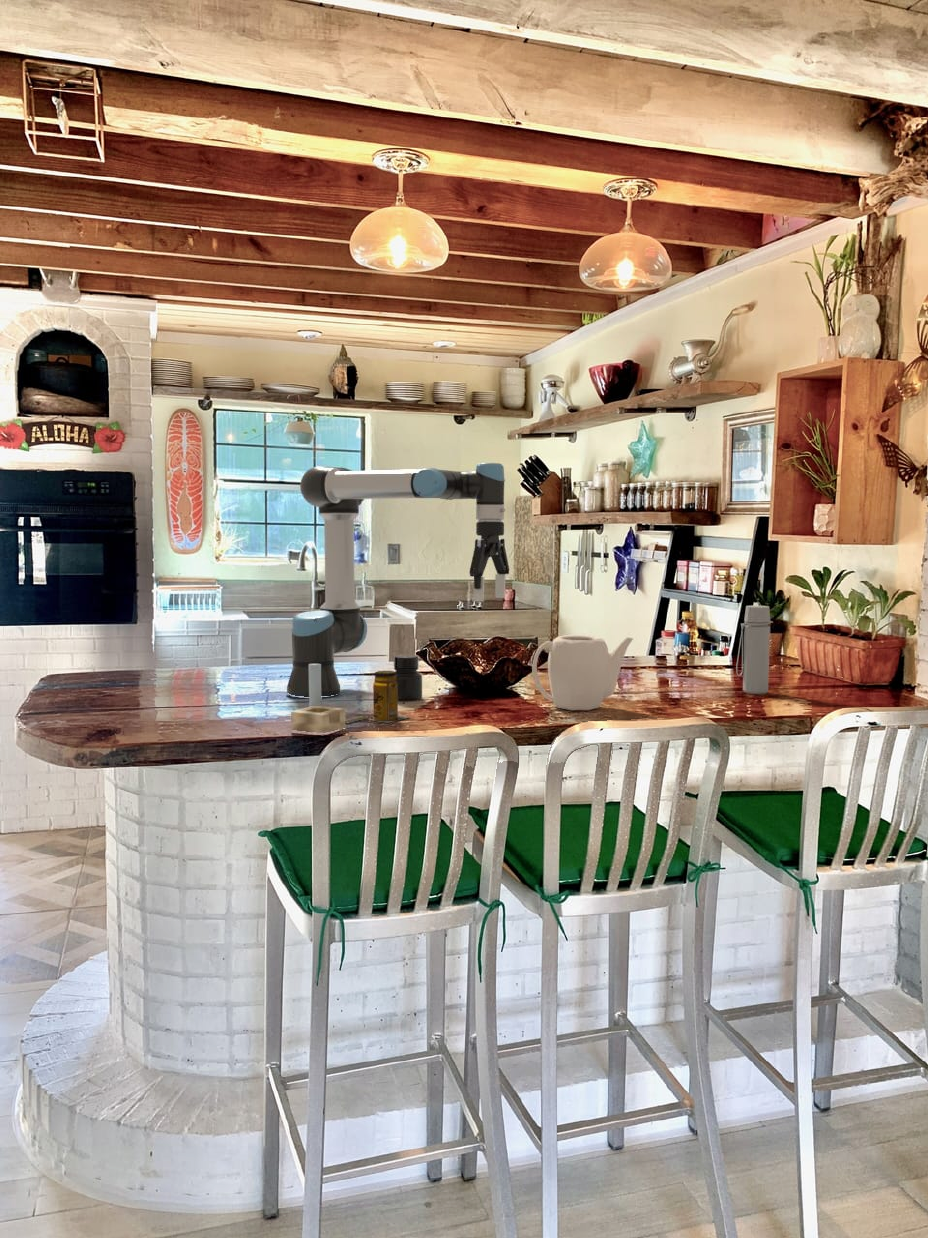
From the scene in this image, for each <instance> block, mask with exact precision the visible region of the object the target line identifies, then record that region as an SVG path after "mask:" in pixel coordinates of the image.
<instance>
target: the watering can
mask: <svg viewBox="0 0 928 1238" xmlns="http://www.w3.org/2000/svg"><path fill="white" fill-rule="evenodd" d="M633 640H634V638H632V637H629V636H627V637H626V638H624V640H623V641H621V642H620V644H619V645H618V646H617V647H616V648H615V649H614V650H613V651H612V652H611V653H609V648H608V646H607V643H606V641H605V639H604V638H601V637H599V636H594V635H586V634H585V635H583V634H582V635H579V634H572V635H570V634H568V635H560V636H559V635H558V636H557V637H555V638H554V639H553V641H551V640H547V641H546V642H543V643H542V644H541V645H540V646H538V647H537V650H536V652H535V654H534V656H533V661H532V666H531V670H532V673H531V675H532V678H533V682H534V684H535V687H536V689H537V690H538V691H539V692H540V693H541V694H542V696H543V697H544V698H545V699H546V700H549V701H550V702H552V703H553V704H554V706H555V707H556V708H557V709H560V708H561V709H562V710H567V711H591V710H594V709H595V710H596V709H599V708H600V707H601V704H602V702H603V700H604V699H606V698H609V697H611V696H612V695H613V694H614V693H615V690H616V687H617V683H618V678H619V676H620V671H621V667H622V664H623V660H624V657H625V655H626V652H627V650H628V647H629V646H630V644H631V643H632V641H633ZM544 649H547V650H549V652H548V653H549V654H548V658H547V674H548V680H549V688H550V693H551V694H550V693H548V692H547V691H546V690H545V688H544V687H543V685H542V684H541V681H540V677H539V674H538V665H537V664H538V660H539V656H540V655H541V652H542V651H543V650H544Z"/></svg>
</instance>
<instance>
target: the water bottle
mask: <svg viewBox="0 0 928 1238" xmlns="http://www.w3.org/2000/svg"><path fill="white" fill-rule="evenodd" d="M770 611H771V610H770V606H767V605H746V606H745V613H744V620H743V621H744V622H743V623H740V626H741V627H740V628H741V632H740V633H741V634H740V638H739V646H738V652H737V653H738V654H737V660H736V668H735V669H736V675H737V676H738V677H739V676H740V677H741V676H742V691H743V692H744V693H745V694H748V695H765V694H767V693H768V692H769V675H770V641H771V640H770V639H771V626H770V624H771V622H772V621H771V613H770ZM740 649H741V650H740ZM740 651H741V672H740V674H739V673H738V671H739V670H738V664H739V656H740Z"/></svg>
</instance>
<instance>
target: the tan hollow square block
mask: <svg viewBox="0 0 928 1238" xmlns="http://www.w3.org/2000/svg"><path fill="white" fill-rule="evenodd" d="M345 720H346V708H343V707H335V706H334V707H333V706H315V705H314V706H310V707H309V706H307V707H304V708H300V709H297V710H293V711H290V721H291V722H290V728H291V730H297V731H306V732H317V733H326V732H330V731H335V730H338V729H343V728H345V729H346V724H345Z"/></svg>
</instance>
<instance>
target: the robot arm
mask: <svg viewBox="0 0 928 1238" xmlns="http://www.w3.org/2000/svg"><path fill="white" fill-rule="evenodd" d="M300 480H301V481H300V485H299V487H300V492H301V495H302V497H303V498H304V500H305V501H306V502H307V503H308V504H309V505H312V506H314V507H317V508H318V515H319V516H320V517H321V518H322V519H323V523H324V525H323V527H324V528H323V531H324V534H323V535H324V536H323V537H324V583H325V584H324V590H325V591H324V593H325V596H324V600H325V601H324V603H323V604H322V605H321V606H319V607H320V609H319V610H311V611H304V612H300V613H298V614H296V615H295V616H293V618H292V620H291V621H292V622H291V643H292V645H291V647H292V649H291V650H292V669H291V673H290V676H289V679H288V682H287V683H288V684H287V685H286V694H287V693H289V694H291V695H295V696H304V697H309V664H321V696H331V695H336V694H339V693H340V694H341V684H340V682H339V678H338V675H337V671H336V670H335V654H339V653H348V652H351V651H353V650H355V649H357V648H359V647H360V646H361V645H363V643H364V641H365V640H366V637H367V633H368V624H367V621H366V619H365V618H364V616H363V615H362V614H361V606H360V605H359V604H358V603H357V602H356V600H355V524H354V523H355V519H356V518H357V517H358V516H359V514H360V510H359V509H360V507H359V506H361V504H362V502H364V500H375V499H376V500H380V499H381V500H383V499H385V500H386V499H389V500H390V499H391V500H393V499H440V500H449V501H451V500H469V499H470V500H476V502H475V504H476V505H475V506H476V507H475V513H476V514H475V519H476V520H477V522H476V524H475V527H476V528H475V529H476V530H475V531H476V532H475V534H476V535H477V536H480V539H479V538H475V541H474V549H473V554H472V559H471V562H470V563H471V564H470V568H469V576H470V577H473V602H485V576H483V575H484V572H485V569H486V567H487V564H488V561H489V558H491V560H492V563H493V565H494V568H495V571H496V573H495V578H494V580H495V582H494V583H495V584H494V585H495V588H494V589H495V590H494V592H495V593H494V594H495V595H494V596H495V598H496V599H505V598H506V575H509V574H510V566H509V561H508V556H507V550H506V545H505V538H500V536H504V535H505V522H503V521H502V520H504V519H505V511H506V509H505V482H506V479H505V467H504V465H503V464H502V463H500V462H499V463H498V462H482V463H481V462H480V463H477V464H476V468H475V470H471V471H468V470H467V471H464V470H462V471H458V470H457V471H455V470H448V469H447V470H445V469H437V468H433V467H431V468H430V467H428V468H422V469H398V470H397V469H395V470H394V469H392V470H389V469H387V470H358V471H356V470H352V469H350V468H346V467H334V466H326V465H325V466H324V465H317V466H313V467H311V468H309V469H308V470H306V471H305V472H304V474H303V476H302V477H301V479H300ZM340 694H339V695H340Z"/></svg>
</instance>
